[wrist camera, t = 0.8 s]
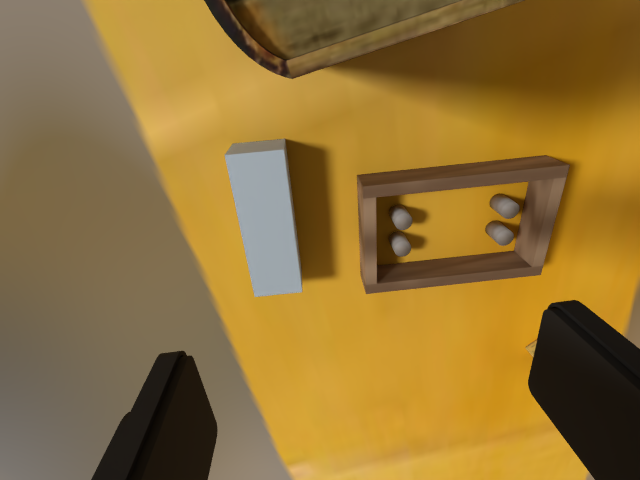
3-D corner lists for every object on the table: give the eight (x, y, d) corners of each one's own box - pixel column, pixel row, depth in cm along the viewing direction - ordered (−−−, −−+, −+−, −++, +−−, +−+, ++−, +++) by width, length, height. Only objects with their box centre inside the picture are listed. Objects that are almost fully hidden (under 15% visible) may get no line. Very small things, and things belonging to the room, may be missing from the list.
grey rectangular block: (233, 143, 33) (224, 155, 29) (285, 138, 33) (283, 149, 29) (258, 272, 40) (254, 296, 36) (301, 268, 40) (302, 292, 36)
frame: (357, 174, 35) (362, 186, 32) (545, 155, 35) (569, 165, 32) (360, 275, 41) (366, 293, 38) (522, 258, 41) (540, 274, 38)
